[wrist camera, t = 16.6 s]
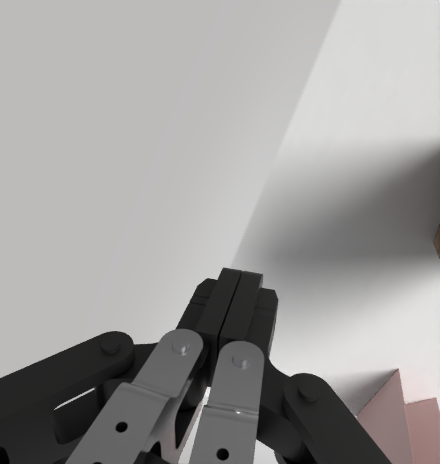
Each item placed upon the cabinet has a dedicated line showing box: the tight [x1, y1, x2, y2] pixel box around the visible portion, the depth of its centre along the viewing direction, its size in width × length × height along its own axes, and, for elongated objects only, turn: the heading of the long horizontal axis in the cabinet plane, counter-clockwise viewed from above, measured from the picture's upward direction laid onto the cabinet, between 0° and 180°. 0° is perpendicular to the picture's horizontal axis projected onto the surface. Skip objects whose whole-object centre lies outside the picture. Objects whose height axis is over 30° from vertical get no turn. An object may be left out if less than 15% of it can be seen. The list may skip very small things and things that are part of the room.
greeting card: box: [357, 368, 440, 464], centre depth 50 cm, size 11×7×15 cm, turn 126°
